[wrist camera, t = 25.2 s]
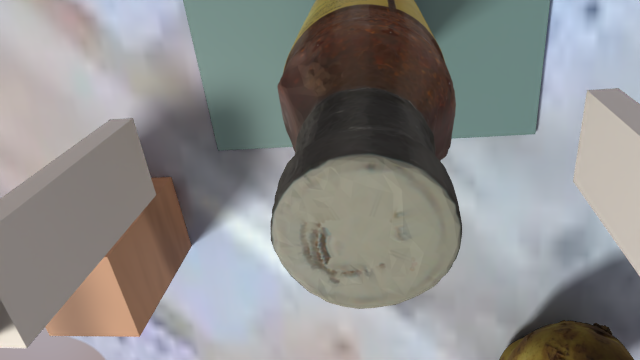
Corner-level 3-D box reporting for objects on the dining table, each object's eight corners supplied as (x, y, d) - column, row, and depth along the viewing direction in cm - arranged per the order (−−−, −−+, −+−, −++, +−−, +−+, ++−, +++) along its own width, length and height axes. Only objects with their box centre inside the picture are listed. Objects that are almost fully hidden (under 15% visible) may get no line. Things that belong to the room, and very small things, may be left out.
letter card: (564, -143, 22) (566, -144, 22) (534, 132, 29) (535, 134, 29) (163, -89, 26) (162, -89, 25) (219, 149, 32) (218, 150, 32)
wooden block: (171, 177, 34) (107, 256, 26) (191, 245, 37) (139, 336, 29) (93, 180, 35) (9, 258, 27) (119, 247, 38) (50, 335, 30)
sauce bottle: (296, 59, 28) (160, 290, 11) (333, -51, 25) (224, 34, 8) (398, 99, 29) (419, 379, 12) (447, -4, 26) (574, 169, 9)
